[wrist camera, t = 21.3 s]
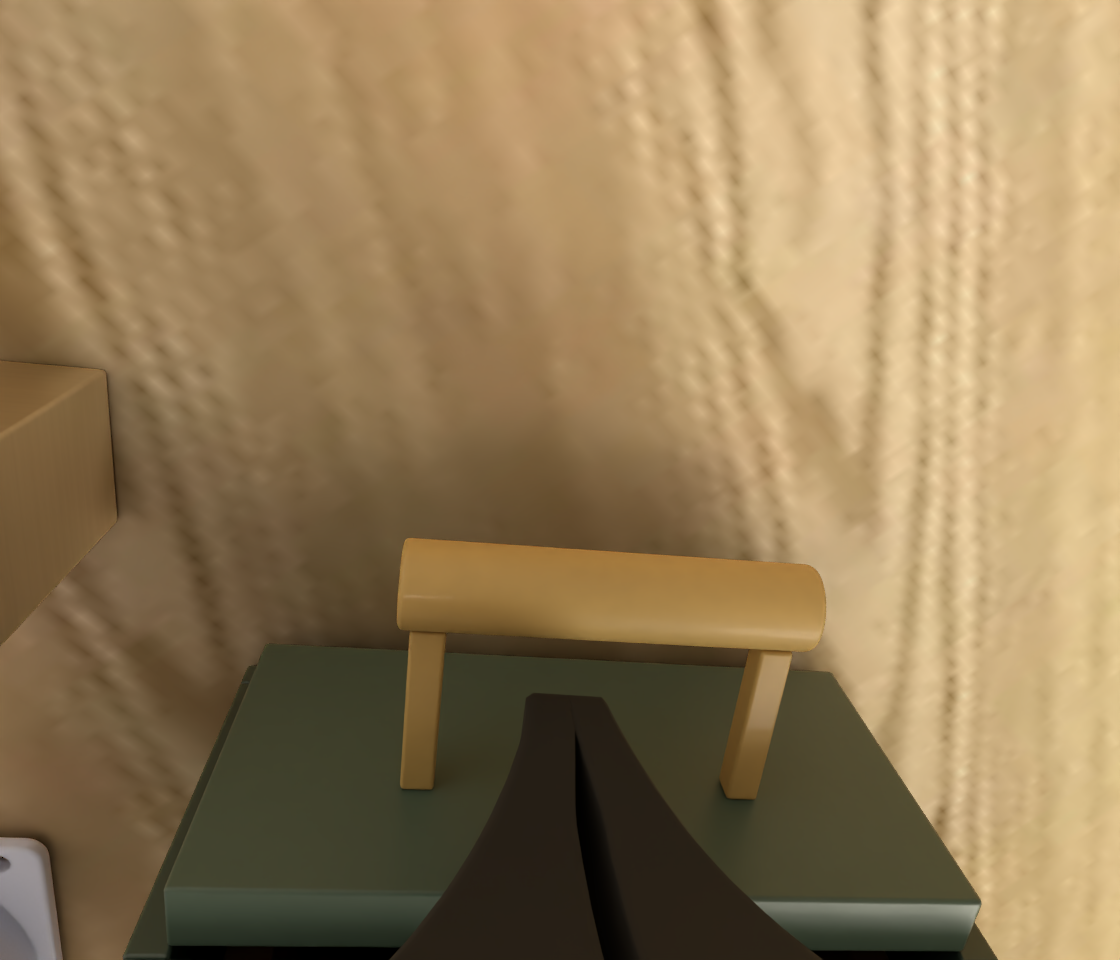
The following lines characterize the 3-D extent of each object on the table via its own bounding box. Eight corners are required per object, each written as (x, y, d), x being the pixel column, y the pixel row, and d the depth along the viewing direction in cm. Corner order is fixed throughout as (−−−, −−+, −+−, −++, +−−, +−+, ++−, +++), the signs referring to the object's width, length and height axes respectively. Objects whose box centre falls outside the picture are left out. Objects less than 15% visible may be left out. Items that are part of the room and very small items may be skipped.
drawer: (263, 439, 17) (142, 612, 11) (882, 489, 19) (1081, 663, 13) (268, 1053, 24) (195, 1378, 17) (726, 1049, 25) (806, 1344, 19)
